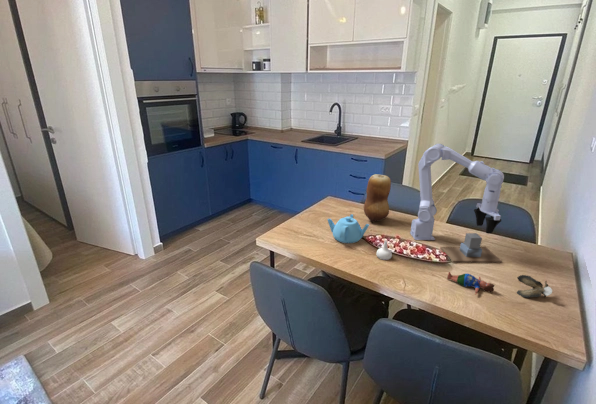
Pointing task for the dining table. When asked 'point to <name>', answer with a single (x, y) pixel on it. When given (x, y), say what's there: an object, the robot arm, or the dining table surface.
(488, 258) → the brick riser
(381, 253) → the garlic bulb
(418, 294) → the dining table surface
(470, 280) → the toy character
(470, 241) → the gray brick
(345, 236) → the teapot
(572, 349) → the dining table surface
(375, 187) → the butternut squash
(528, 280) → the eagle figurine
